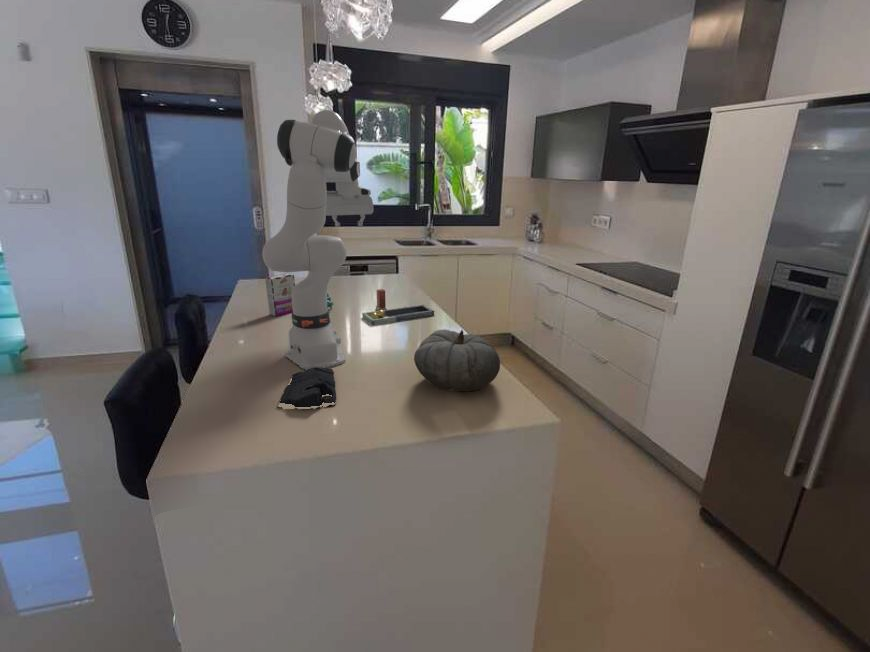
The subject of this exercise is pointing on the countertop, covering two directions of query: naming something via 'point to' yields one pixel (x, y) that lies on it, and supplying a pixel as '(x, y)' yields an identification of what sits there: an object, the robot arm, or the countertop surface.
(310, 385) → the dark slate chunk
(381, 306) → the red-brown bar
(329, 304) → the gear
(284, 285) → the candy bar box
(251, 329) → the countertop surface
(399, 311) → the tray
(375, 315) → the shiny gold ball
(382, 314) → the yellow-brown round piece
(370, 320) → the tray
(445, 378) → the gourd
